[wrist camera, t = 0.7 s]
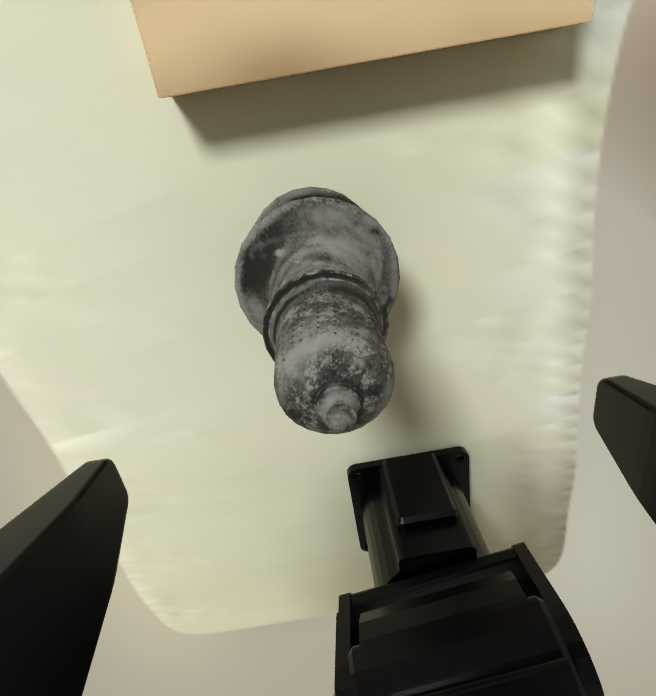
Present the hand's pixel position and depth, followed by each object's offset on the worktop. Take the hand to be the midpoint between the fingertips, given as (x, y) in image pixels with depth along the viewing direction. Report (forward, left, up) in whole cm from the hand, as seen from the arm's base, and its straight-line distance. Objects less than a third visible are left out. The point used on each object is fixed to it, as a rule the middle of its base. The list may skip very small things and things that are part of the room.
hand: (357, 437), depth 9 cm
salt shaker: (0, 0, -13) cm, 13 cm away
